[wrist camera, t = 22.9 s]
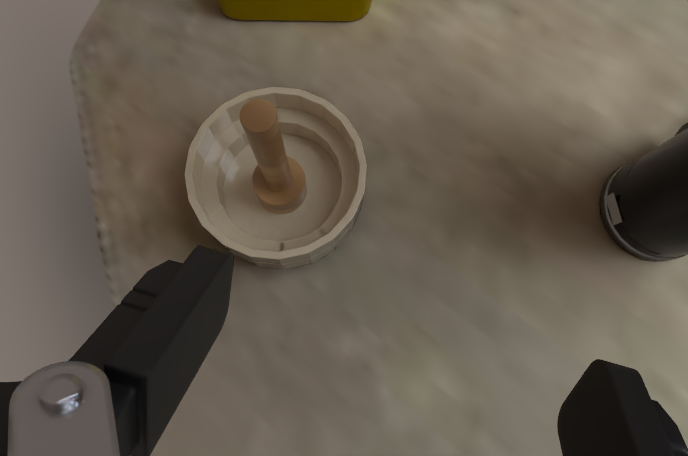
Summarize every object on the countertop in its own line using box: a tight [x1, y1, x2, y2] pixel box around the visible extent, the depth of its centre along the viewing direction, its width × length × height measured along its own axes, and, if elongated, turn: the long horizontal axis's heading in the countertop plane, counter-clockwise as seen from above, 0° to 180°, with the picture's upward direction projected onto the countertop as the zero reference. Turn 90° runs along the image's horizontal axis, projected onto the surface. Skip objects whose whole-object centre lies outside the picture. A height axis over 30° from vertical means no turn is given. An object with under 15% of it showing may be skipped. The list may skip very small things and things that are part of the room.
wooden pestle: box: [239, 99, 307, 214], centre depth 37 cm, size 4×4×15 cm
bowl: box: [185, 87, 367, 269], centre depth 42 cm, size 14×14×6 cm
